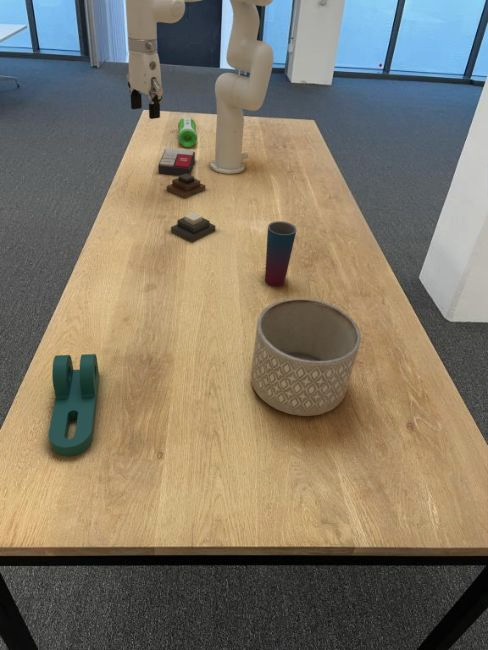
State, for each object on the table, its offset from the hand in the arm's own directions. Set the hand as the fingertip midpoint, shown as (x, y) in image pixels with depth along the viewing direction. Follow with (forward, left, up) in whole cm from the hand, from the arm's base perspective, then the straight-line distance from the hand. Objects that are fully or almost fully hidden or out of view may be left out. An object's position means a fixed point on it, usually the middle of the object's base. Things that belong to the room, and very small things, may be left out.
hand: (145, 113), depth 142 cm
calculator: (-26, -13, -26) cm, 39 cm away
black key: (-14, +3, -23) cm, 27 cm away
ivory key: (+5, +24, -23) cm, 34 cm away
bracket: (+69, +56, -26) cm, 93 cm away
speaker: (-49, -30, -26) cm, 63 cm away
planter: (+36, +81, -26) cm, 92 cm away
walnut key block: (-14, +3, -26) cm, 30 cm away
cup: (+9, +56, -26) cm, 62 cm away
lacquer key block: (+5, +24, -26) cm, 36 cm away
